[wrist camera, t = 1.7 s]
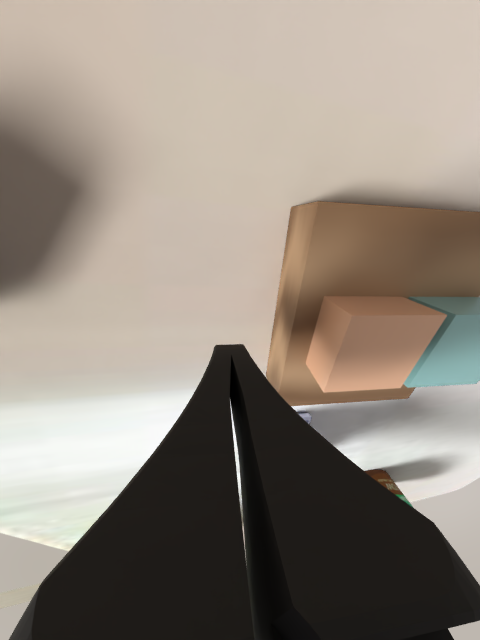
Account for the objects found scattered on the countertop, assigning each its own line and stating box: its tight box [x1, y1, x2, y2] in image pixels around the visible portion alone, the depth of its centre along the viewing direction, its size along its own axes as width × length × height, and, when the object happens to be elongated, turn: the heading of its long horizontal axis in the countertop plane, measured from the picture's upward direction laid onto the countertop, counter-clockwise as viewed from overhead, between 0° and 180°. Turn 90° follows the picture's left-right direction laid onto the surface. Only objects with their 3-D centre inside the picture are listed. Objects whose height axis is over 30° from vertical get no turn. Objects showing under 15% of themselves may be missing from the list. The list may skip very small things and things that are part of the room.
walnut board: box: [266, 201, 480, 406], centre depth 14 cm, size 14×12×4 cm
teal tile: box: [403, 297, 480, 388], centre depth 11 cm, size 5×5×2 cm
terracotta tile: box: [306, 296, 447, 393], centre depth 11 cm, size 5×5×2 cm
